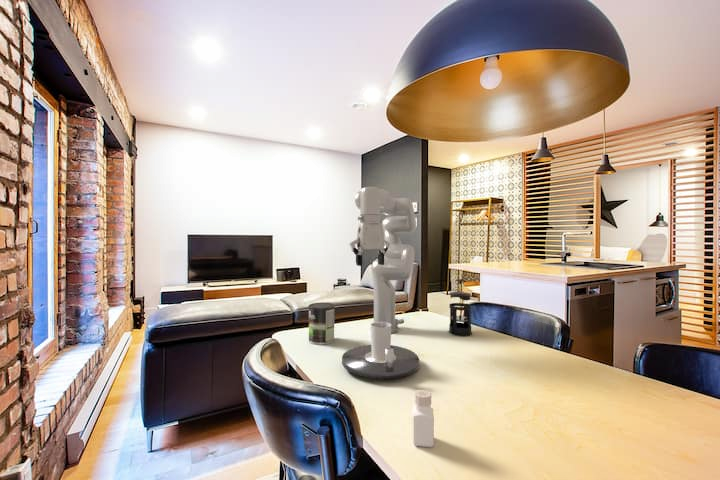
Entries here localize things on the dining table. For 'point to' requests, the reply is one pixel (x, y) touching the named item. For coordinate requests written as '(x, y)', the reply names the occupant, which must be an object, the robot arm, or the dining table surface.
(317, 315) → the coffee can
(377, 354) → the drinking glass
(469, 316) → the french press
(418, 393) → the white pill bottle
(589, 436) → the dining table surface
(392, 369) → the turntable
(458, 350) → the dining table surface
